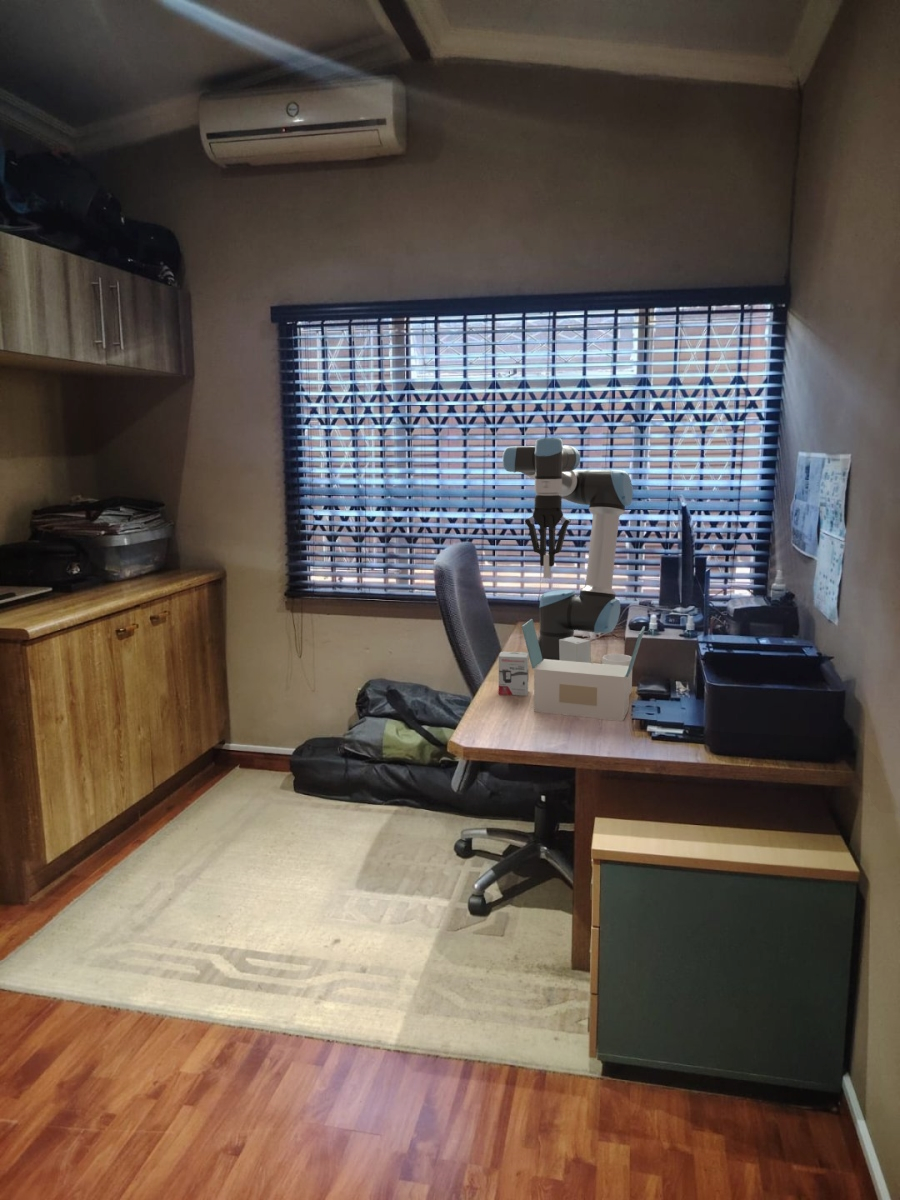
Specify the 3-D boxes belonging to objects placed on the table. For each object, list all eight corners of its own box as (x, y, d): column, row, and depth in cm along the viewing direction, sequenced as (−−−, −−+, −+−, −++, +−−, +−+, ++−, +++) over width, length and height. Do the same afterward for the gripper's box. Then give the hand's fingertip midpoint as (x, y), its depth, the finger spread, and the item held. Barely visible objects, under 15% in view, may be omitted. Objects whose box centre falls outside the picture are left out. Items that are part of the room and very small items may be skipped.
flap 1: (534, 668, 210) (532, 668, 210) (542, 659, 218) (541, 660, 219) (523, 626, 208) (521, 626, 209) (532, 618, 217) (530, 619, 217)
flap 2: (630, 667, 210) (632, 667, 210) (625, 676, 201) (627, 677, 201) (643, 626, 207) (645, 626, 206) (638, 633, 198) (640, 634, 198)
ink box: (497, 694, 226) (497, 655, 224) (499, 689, 231) (499, 651, 229) (527, 696, 225) (527, 656, 222) (528, 691, 229) (529, 652, 227)
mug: (603, 700, 220) (604, 664, 218) (600, 688, 232) (601, 653, 230) (633, 701, 219) (635, 664, 217) (630, 688, 230) (631, 654, 228)
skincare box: (591, 689, 231) (593, 640, 228) (576, 692, 227) (577, 643, 225) (572, 682, 237) (573, 635, 235) (557, 685, 234) (558, 638, 231)
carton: (543, 699, 221) (544, 659, 219) (628, 708, 213) (630, 666, 211) (533, 711, 211) (534, 669, 209) (622, 721, 203) (624, 677, 200)
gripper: (522, 494, 216) (521, 578, 220) (568, 495, 211) (566, 580, 215) (529, 493, 222) (528, 574, 227) (573, 493, 218) (572, 576, 222)
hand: (547, 577), depth 221 cm, fingers closed
